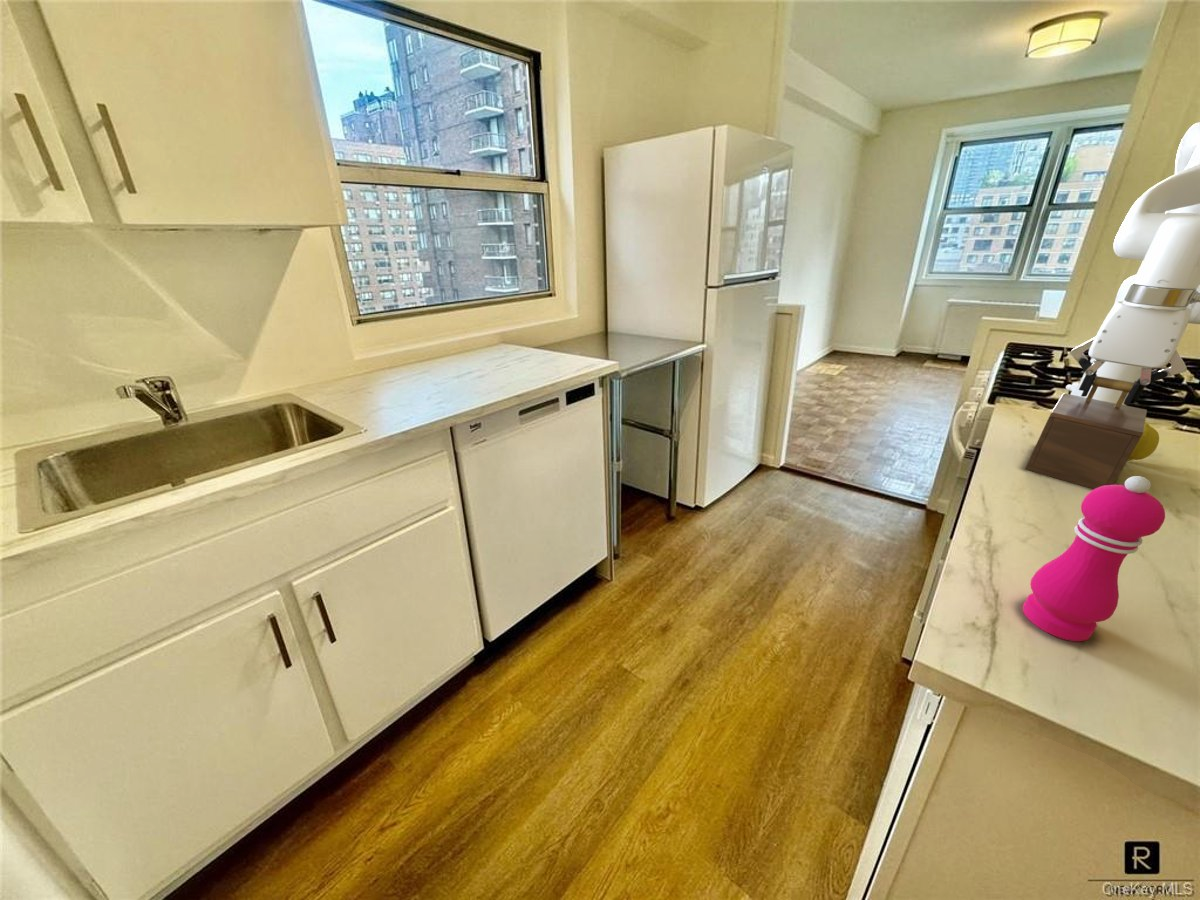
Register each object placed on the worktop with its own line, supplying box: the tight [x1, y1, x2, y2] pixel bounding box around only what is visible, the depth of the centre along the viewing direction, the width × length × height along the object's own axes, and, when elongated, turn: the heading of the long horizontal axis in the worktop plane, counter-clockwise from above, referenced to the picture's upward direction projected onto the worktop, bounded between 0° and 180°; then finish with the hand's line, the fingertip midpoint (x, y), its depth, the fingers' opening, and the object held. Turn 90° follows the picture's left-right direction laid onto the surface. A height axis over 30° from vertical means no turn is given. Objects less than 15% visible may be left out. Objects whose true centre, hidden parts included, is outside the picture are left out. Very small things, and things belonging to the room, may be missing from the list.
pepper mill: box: [1022, 475, 1166, 642], centre depth 53 cm, size 7×7×20 cm
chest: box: [1024, 415, 1141, 490], centre depth 89 cm, size 14×12×11 cm
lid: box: [1049, 376, 1148, 437], centre depth 85 cm, size 14×12×6 cm
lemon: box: [1127, 422, 1160, 462], centre depth 92 cm, size 6×6×8 cm
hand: (1105, 398), depth 89 cm, fingers open, 5 cm apart
